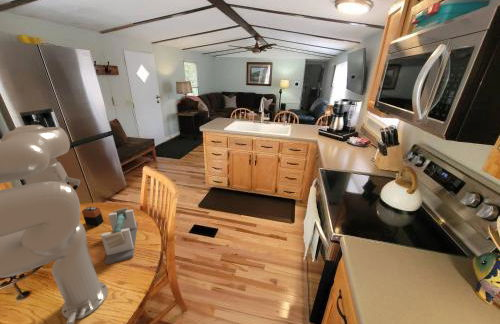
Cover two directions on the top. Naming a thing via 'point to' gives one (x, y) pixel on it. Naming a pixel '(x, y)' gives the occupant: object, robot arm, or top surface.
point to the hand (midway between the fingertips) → (57, 203)
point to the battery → (92, 216)
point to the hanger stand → (129, 236)
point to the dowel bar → (117, 230)
